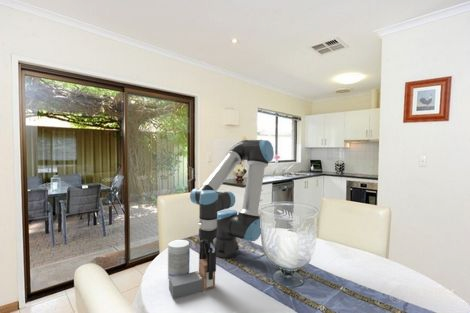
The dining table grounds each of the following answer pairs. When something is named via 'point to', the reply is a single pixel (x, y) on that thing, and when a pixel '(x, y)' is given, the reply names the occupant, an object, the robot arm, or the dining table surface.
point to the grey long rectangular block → (185, 284)
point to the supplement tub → (178, 257)
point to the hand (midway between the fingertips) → (206, 281)
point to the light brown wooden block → (203, 273)
